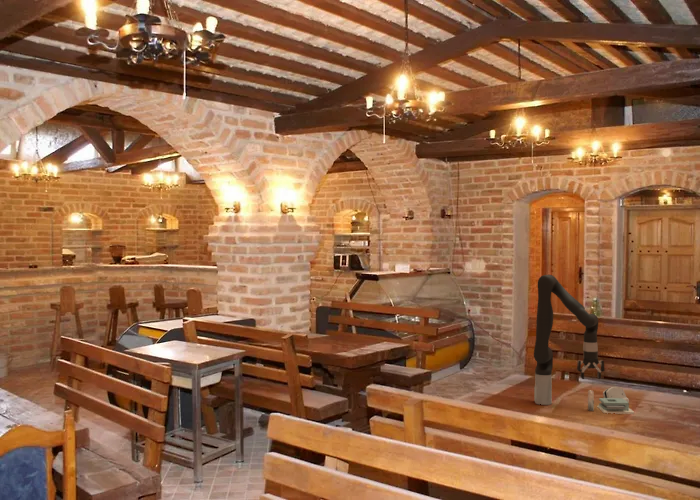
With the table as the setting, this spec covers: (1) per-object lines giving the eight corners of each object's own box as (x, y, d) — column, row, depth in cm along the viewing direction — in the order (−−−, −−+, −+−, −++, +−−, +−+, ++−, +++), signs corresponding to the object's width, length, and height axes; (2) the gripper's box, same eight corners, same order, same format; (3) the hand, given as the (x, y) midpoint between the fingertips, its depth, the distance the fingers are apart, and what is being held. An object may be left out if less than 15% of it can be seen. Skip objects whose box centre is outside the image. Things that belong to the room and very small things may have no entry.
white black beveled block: (612, 406, 364) (607, 388, 367) (605, 407, 368) (600, 389, 371) (629, 401, 374) (624, 384, 376) (623, 402, 377) (617, 385, 380)
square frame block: (604, 413, 350) (604, 404, 349) (597, 407, 363) (597, 398, 362) (634, 413, 348) (634, 404, 348) (626, 407, 361) (626, 398, 361)
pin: (588, 411, 355) (588, 391, 354) (587, 409, 358) (587, 390, 357) (594, 411, 354) (594, 391, 354) (592, 409, 357) (592, 390, 357)
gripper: (579, 351, 352) (579, 380, 353) (605, 351, 351) (606, 380, 351) (575, 348, 360) (576, 377, 360) (601, 348, 358) (601, 377, 359)
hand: (590, 378), depth 356 cm, fingers open, 8 cm apart
